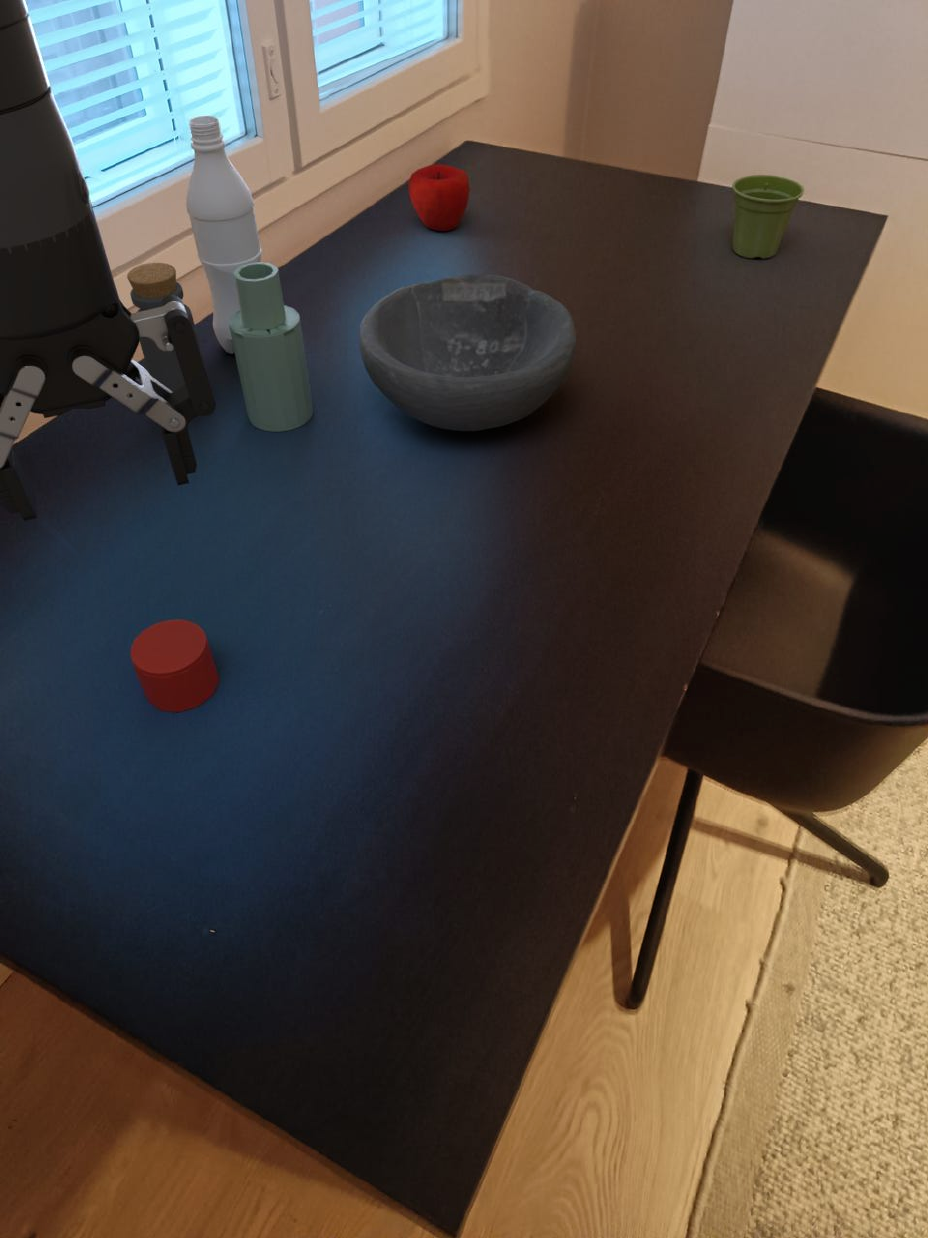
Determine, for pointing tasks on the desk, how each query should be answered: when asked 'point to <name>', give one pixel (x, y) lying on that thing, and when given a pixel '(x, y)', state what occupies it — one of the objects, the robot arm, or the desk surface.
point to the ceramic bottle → (269, 351)
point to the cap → (174, 665)
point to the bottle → (148, 294)
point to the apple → (439, 195)
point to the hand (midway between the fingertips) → (107, 494)
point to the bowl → (467, 350)
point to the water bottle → (220, 221)
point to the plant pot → (762, 213)
